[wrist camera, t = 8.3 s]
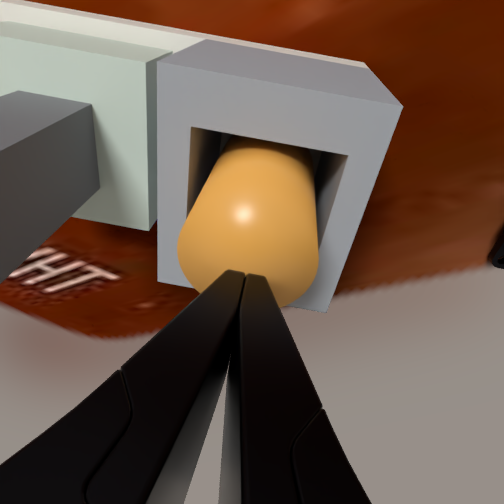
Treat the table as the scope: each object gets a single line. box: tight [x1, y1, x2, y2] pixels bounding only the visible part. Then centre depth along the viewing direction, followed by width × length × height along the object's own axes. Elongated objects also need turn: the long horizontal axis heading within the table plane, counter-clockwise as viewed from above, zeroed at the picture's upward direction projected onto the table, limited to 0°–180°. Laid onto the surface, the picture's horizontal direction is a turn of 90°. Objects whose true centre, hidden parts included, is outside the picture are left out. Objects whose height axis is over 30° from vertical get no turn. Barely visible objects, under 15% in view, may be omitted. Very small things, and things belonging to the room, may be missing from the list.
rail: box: [0, 0, 403, 313], centre depth 14 cm, size 26×7×7 cm, turn 82°
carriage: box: [0, 21, 173, 283], centre depth 11 cm, size 6×6×9 cm
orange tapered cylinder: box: [177, 134, 319, 308], centre depth 11 cm, size 3×3×6 cm
